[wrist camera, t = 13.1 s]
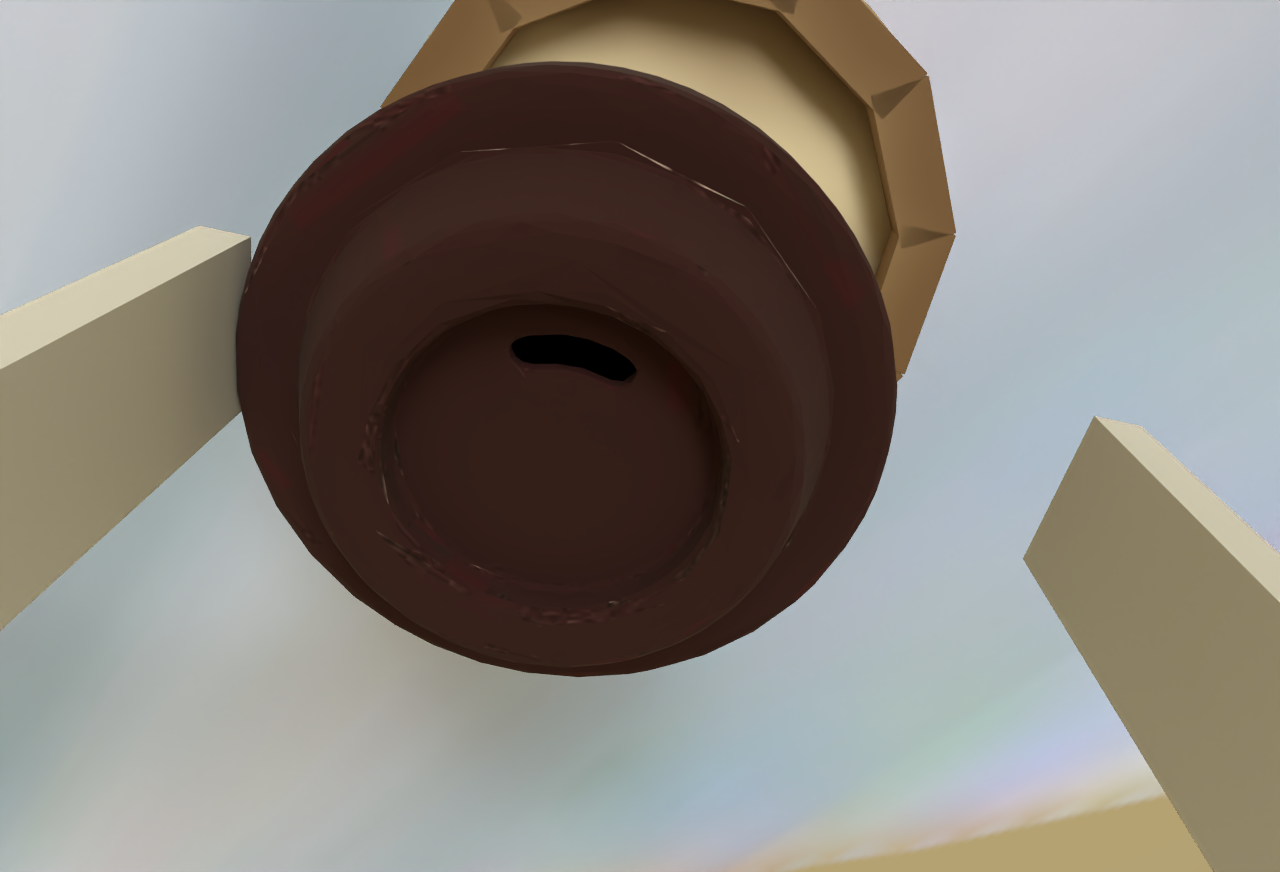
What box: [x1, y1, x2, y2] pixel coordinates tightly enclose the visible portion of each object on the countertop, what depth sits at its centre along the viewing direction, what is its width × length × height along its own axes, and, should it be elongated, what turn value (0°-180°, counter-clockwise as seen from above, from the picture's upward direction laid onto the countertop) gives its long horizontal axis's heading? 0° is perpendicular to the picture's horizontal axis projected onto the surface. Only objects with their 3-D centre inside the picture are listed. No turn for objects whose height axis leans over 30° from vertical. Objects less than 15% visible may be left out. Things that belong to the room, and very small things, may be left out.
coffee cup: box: [236, 61, 897, 677], centre depth 18 cm, size 10×10×15 cm
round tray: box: [380, 0, 956, 381], centre depth 25 cm, size 16×16×2 cm
